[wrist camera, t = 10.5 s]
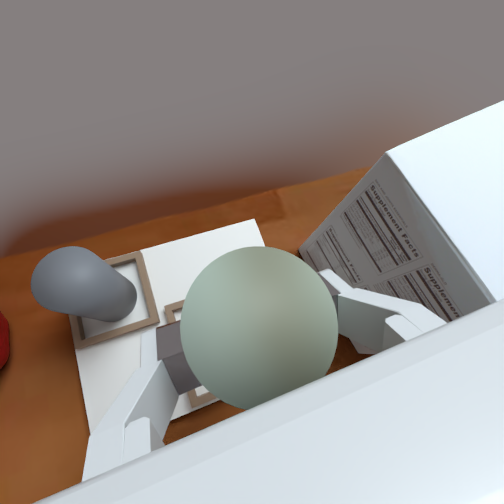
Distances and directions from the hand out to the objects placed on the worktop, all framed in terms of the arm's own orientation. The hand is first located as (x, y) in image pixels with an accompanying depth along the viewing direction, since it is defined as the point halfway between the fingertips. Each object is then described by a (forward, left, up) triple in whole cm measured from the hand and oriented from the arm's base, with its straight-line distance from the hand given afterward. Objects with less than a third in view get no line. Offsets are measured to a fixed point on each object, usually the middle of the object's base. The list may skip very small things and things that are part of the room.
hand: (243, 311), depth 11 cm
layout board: (-3, +2, -18) cm, 19 cm away
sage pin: (0, -1, -6) cm, 6 cm away
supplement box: (+18, 0, -19) cm, 26 cm away
